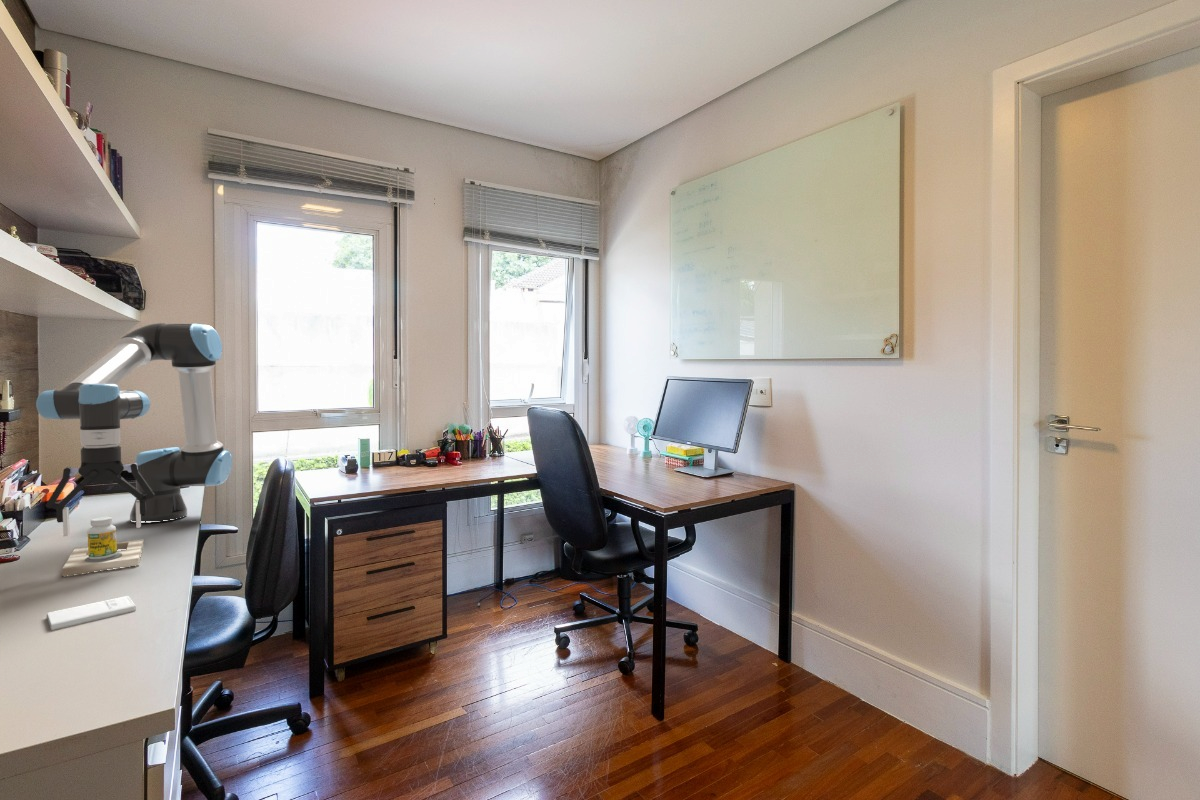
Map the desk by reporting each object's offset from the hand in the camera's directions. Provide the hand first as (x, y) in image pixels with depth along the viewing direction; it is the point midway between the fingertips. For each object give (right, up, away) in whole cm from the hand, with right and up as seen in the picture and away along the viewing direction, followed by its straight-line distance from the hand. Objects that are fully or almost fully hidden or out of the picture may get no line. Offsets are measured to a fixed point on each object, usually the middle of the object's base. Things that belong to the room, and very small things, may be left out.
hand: (103, 530), depth 143 cm
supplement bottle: (0, -7, 0) cm, 7 cm away
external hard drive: (+23, -11, -29) cm, 38 cm away
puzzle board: (-3, -9, +4) cm, 10 cm away
